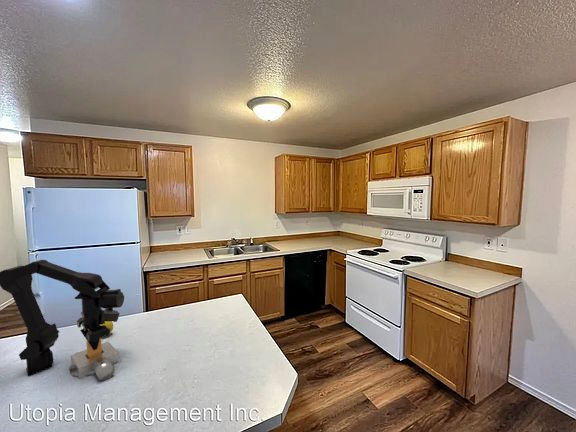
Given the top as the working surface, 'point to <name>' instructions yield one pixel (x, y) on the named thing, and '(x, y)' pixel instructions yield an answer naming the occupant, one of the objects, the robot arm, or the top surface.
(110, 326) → the lemon
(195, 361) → the top surface
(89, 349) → the orange block
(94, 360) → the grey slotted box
